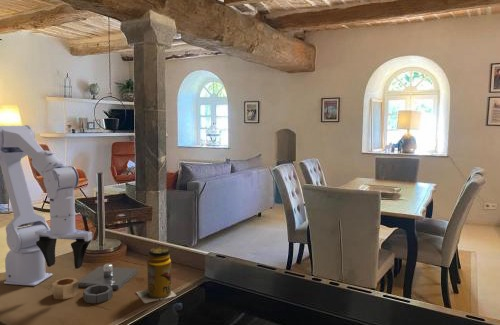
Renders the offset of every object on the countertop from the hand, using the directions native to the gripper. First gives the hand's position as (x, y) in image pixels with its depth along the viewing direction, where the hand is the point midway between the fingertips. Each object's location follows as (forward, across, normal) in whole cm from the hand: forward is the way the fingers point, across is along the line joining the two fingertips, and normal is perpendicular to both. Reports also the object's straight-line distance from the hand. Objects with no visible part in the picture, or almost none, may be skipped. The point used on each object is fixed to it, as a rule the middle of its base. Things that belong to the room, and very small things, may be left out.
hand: (64, 266), depth 101 cm
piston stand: (+8, +6, +11) cm, 15 cm away
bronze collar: (+8, 0, 0) cm, 8 cm away
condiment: (+8, +23, +4) cm, 25 cm away
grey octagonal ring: (+8, +9, 0) cm, 12 cm away
